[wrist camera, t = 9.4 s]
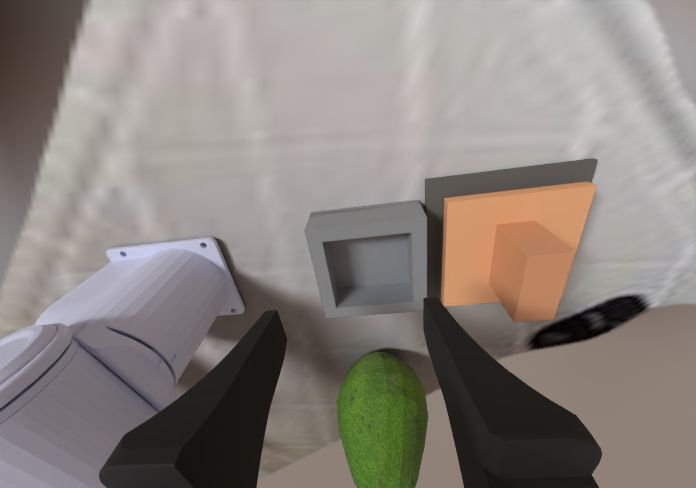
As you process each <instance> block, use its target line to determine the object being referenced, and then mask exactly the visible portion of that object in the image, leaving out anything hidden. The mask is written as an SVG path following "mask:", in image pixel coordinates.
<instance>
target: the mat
mask: <svg viewBox="0 0 696 488" xmlns="http://www.w3.org/2000/svg"><path fill="white" fill-rule="evenodd" d="M597 161H598V160H597V159H585V160H577V161H568V162H560V163H552V164H544V165H536V166H528V167H520V168H512V169H503V170H495V171H487V172H479V173H471V174H463V175H455V176H447V177H438V178H430V179H425V214H426V216H427V298H431V297H437V298H438V299H439V300H440V301H441V285H442V255H443V226H444V198H450V197H458V196H467V195H475V194H484V193H493V192H501V191H510V190H519V189H527V188H536V187H544V186H553V185H562V184H570V183H579V182H590V183H591V181H592V177H593V174H594V171H595V167H596V164H597Z"/></svg>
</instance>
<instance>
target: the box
mask: <svg viewBox="0 0 696 488" xmlns="http://www.w3.org/2000/svg"><path fill="white" fill-rule="evenodd" d="M305 234H306V238H307V242H308V247H309V251H310V255H311V259H312V263H313V267H314V271H315V276H316V280H317V284H318V288H319V292H320V296H321V300H322V305H323V309H324V313H325V317H326V318H337V317H349V316H362V315H375V314H387V313H400V312H413V311H423V298H427V216H426V214H425V212H424V210H423V208H422V206H421V204H420V202H419V201H418V200H414V201H405V202H397V203H388V204H380V205H371V206H362V207H354V208H345V209H337V210H328V211H319V212H311V214H310V217H309V220H308V223H307V225H306V228H305Z"/></svg>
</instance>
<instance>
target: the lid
mask: <svg viewBox="0 0 696 488" xmlns="http://www.w3.org/2000/svg"><path fill="white" fill-rule="evenodd" d="M596 186H597V185H595V184H592V183H590V182H579V183H570V184H562V185H553V186H544V187H536V188H527V189H519V190H510V191H501V192H493V193H484V194H475V195H467V196H458V197H450V198H444V226H443V255H442V285H441V301H442V304H443V305H444V307H445V306H457V305H470V304H482V303H495V302H501V303H502V305H503V306H504V308H505V309H506V311H507V312H508V314H509V315H510V317H511V318H512V320H513V322H525V321H539V320H553V319H554V318H555V314H556V311H557V308H558V305H559V301H560V298H561V297H562V296H563V293H564V290H565V286H566V283H567V280H568V277H569V273H570V270H571V267H572V264H573V261H574V257H575V254H576V251H577V248H578V244H579V241H580V238H581V235H582V232H583V228H584V225H585V222H586V219H587V215H588V212H589V209H590V206H591V203H592V199H593V196H594V193H595V190H596Z"/></svg>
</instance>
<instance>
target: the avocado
mask: <svg viewBox="0 0 696 488" xmlns="http://www.w3.org/2000/svg"><path fill="white" fill-rule="evenodd" d="M337 414H338V428H339V432H340V436H341V440H342V443H343V447H344V451H345V454H346V458H347V461H348V464H349V468H350V471H351V474H352V477H353V480H354V483H355V485H356V486H357V488H415V486H416V483H417V479H418V475H419V469H420V464H421V460H422V455H423V450H424V445H425V437H426V430H427V422H428V412H427V404H426V397H425V392H424V390H423V388H422V386H421V384H420V382H419V380H418V378H417V376H416V374H415V372H414V371H413V370H412V369H411V368H410V367H409V366H408V365H406V364H405V363H404V362H403V361H402V360H401V359H399V358H397V357H396V356H394V355H392V354H390V353H387V352H372V353H369V354H366V355H364V356H362V357H361V358H360V359H359V360H358V361H357V362H356V363H354V364H353V365H352V366H351V368H350V369H349V371H348V373H347V375H346V377H345V379H344V381H343V384H342V387H341V390H340V393H339V396H338V398H337Z"/></svg>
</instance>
